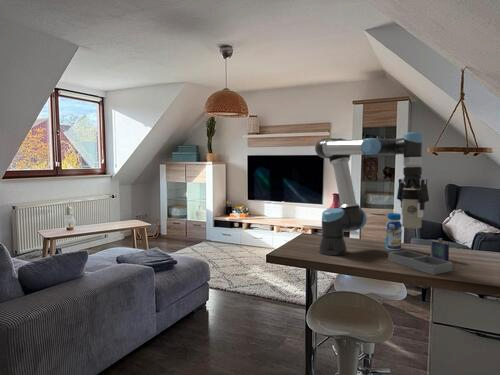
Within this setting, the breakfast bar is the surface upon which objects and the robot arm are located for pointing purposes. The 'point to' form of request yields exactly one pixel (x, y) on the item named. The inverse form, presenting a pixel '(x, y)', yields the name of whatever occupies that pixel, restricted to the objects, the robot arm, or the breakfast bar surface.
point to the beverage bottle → (393, 232)
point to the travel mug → (410, 209)
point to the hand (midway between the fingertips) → (412, 216)
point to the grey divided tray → (420, 262)
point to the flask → (440, 249)
